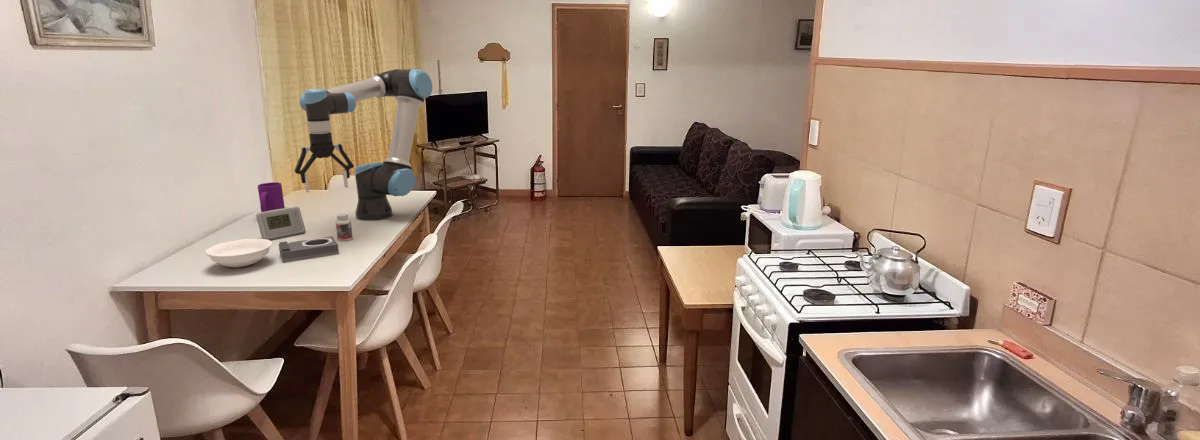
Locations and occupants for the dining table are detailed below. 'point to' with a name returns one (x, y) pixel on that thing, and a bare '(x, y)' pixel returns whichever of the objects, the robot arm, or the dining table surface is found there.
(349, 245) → the dining table surface
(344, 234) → the pill bottle
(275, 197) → the mug
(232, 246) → the bowl
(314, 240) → the octagonal hole plate
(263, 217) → the digital clock
